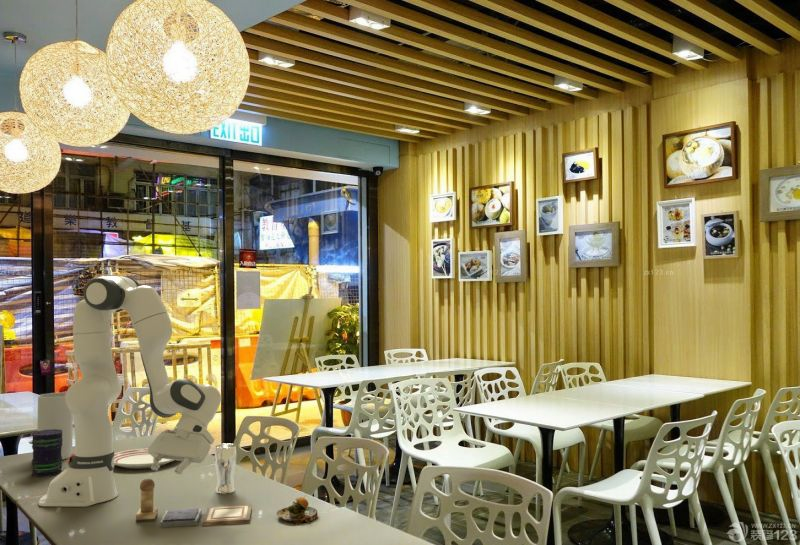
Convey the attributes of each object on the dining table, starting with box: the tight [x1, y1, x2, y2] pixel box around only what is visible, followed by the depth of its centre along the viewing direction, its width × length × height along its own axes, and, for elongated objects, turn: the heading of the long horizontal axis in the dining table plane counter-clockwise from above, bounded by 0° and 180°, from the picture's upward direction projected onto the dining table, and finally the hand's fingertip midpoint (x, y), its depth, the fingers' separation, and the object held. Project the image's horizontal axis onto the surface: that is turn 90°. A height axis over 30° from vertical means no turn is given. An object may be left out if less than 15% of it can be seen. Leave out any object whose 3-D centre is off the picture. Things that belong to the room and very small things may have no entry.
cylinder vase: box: [36, 392, 74, 461], centre depth 266 cm, size 12×12×25 cm
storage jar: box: [31, 429, 63, 478], centre depth 243 cm, size 10×10×15 cm
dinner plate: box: [114, 447, 175, 470], centre depth 258 cm, size 27×27×3 cm
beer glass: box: [214, 443, 237, 495], centre depth 221 cm, size 7×7×15 cm
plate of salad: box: [276, 491, 318, 525], centre depth 195 cm, size 12×12×8 cm
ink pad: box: [159, 508, 202, 528], centre depth 192 cm, size 10×10×2 cm
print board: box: [201, 504, 253, 527], centre depth 195 cm, size 13×13×1 cm
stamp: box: [135, 478, 159, 524], centre depth 193 cm, size 5×5×12 cm
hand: (165, 471), depth 200 cm, fingers open, 8 cm apart
